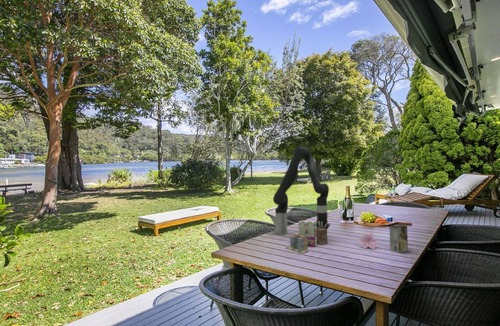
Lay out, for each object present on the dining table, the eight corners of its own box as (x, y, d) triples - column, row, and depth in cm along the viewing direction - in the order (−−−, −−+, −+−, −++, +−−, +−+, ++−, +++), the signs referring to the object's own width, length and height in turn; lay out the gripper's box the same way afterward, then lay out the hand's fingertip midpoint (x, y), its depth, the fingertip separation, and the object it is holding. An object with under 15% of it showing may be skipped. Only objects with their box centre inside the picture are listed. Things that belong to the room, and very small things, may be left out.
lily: (354, 248, 192) (356, 237, 187) (362, 238, 199) (364, 228, 194) (372, 257, 184) (374, 246, 179) (379, 246, 191) (382, 236, 186)
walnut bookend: (308, 241, 202) (307, 227, 202) (313, 239, 205) (313, 226, 205) (321, 245, 192) (321, 230, 192) (327, 243, 196) (327, 229, 196)
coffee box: (398, 248, 186) (398, 223, 186) (408, 250, 181) (407, 225, 181) (389, 250, 182) (389, 225, 182) (398, 253, 176) (398, 227, 176)
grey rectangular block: (286, 248, 190) (285, 234, 190) (312, 241, 207) (312, 228, 207) (303, 253, 178) (302, 238, 178) (329, 245, 195) (329, 231, 195)
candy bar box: (317, 245, 192) (316, 221, 192) (314, 247, 188) (314, 222, 188) (301, 243, 198) (301, 219, 198) (298, 245, 193) (298, 221, 193)
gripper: (333, 212, 199) (333, 236, 199) (317, 209, 210) (318, 233, 210) (326, 213, 194) (326, 238, 194) (311, 211, 205) (311, 234, 205)
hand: (322, 235), depth 202 cm, fingers closed
